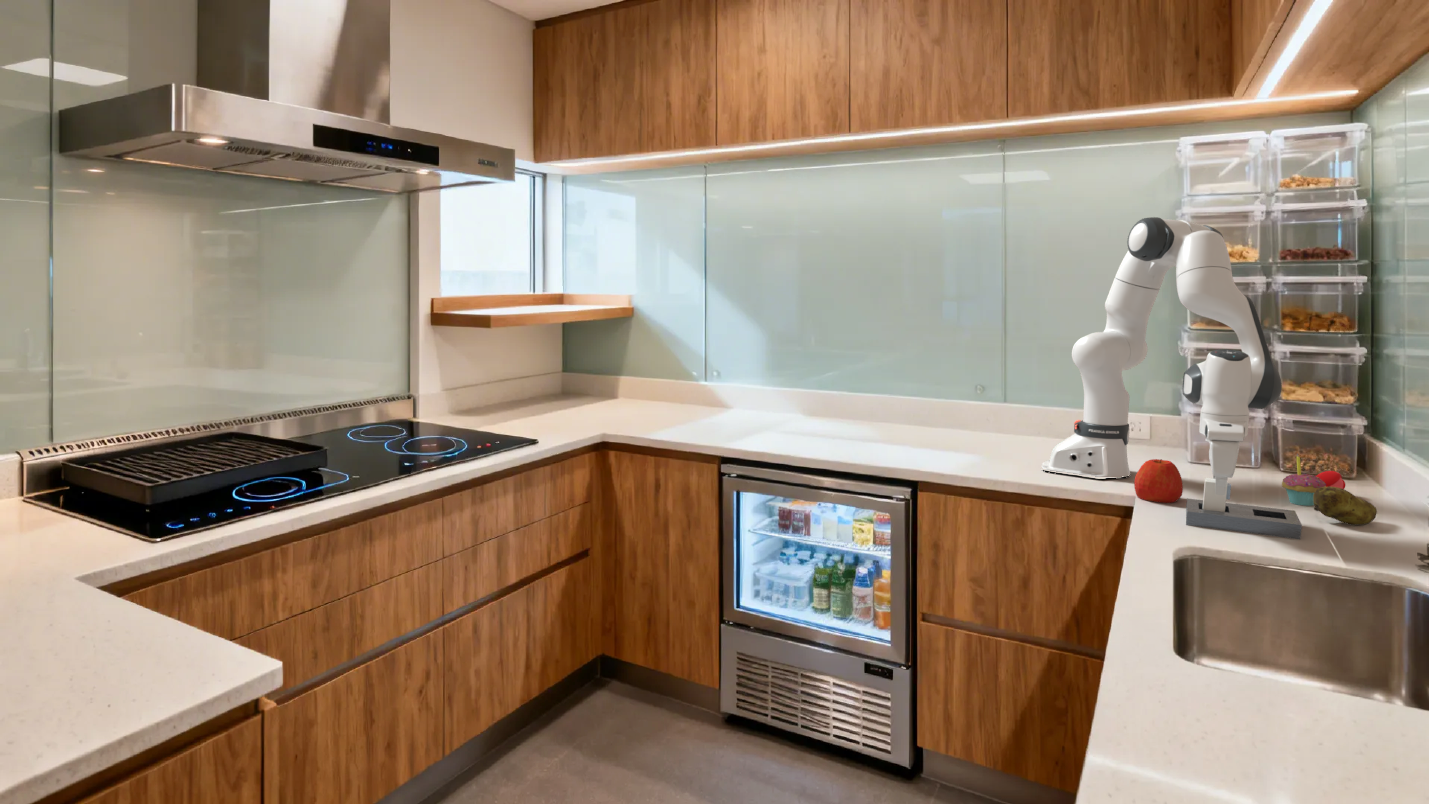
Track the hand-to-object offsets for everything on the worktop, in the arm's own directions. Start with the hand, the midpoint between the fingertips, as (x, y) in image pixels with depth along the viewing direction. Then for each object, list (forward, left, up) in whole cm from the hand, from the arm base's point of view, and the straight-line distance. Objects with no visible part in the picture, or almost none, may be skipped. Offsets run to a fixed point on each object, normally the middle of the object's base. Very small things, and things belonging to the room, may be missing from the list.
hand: (1218, 489), depth 174 cm
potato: (+24, +15, -8) cm, 30 cm away
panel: (+4, 0, -8) cm, 9 cm away
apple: (-12, +15, -8) cm, 20 cm away
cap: (+24, +42, -8) cm, 49 cm away
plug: (-1, 0, -7) cm, 7 cm away
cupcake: (+18, +30, -8) cm, 36 cm away
